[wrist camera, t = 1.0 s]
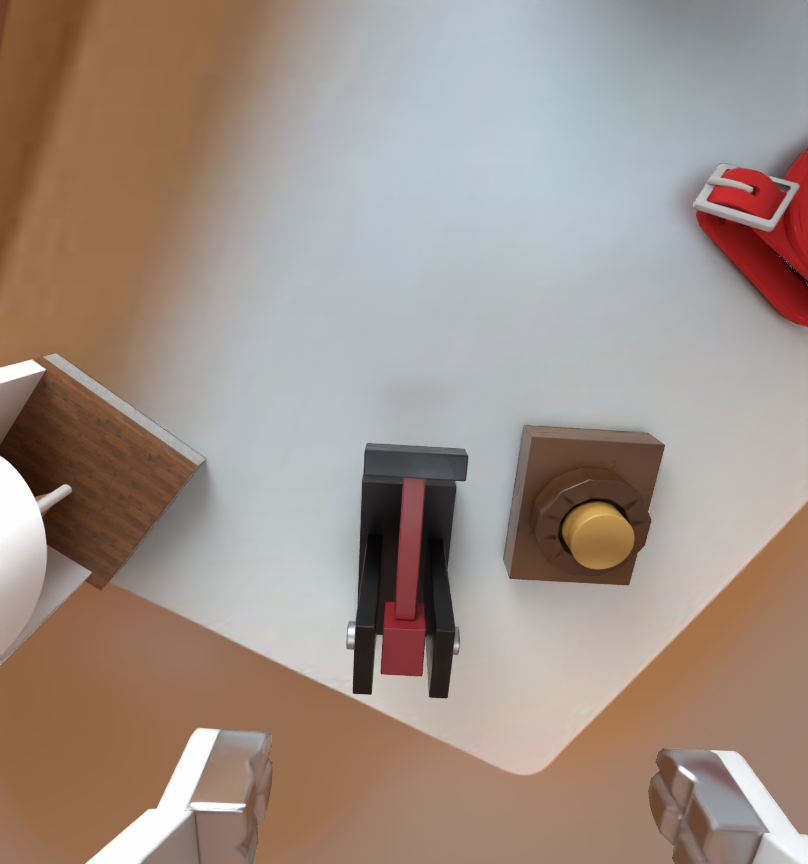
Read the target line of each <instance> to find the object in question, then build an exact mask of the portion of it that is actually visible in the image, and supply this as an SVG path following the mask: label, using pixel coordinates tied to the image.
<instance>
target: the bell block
mask: <svg viewBox="0 0 808 864" xmlns="http://www.w3.org/2000/svg"><path fill="white" fill-rule="evenodd" d="M664 447H665V445H664V444H663V443H662V442H660V441H659V440H657V439H656V438H654V437H653V436H652V435H650V434H649V433H641V432H624V431H608V430H591V429H575V428H558V427H542V426H524V427H523V433H522V440H521V447H520V453H519V460H518V466H517V473H516V480H515V486H514V493H513V500H512V506H511V513H510V519H509V526H508V533H507V539H506V546H505V552H504V559H503V560H504V563H505V566H506V569H507V572H508V575H509V578H510V579H522V580H540V581H558V582H576V583H595V584H613V585H629V584H630V580H631V576H632V572H633V568H634V565H635V561H636V557H637V553H638V552H639V551H640V550H641V549H642V548H643V547H644V546H645V543H646V539H647V535H648V531H649V528H650V524H651V518H650V515H649V513H648V510H649V506H650V502H651V498H652V494H653V490H654V486H655V482H656V478H657V475H658V471H659V467H660V463H661V459H662V455H663V451H664ZM588 501H603V502H607V503H609V504H611V505H613V506H614V507H615V508H616V509H617V510H618V511H619V512H620V513H621V514H622V516H623V517H624V518H625V519H626V520H627V521H628V523H629V524H630V525H631V527H632V529H633V531H634V545H633V548H632V550H631V552H630V554H629V555H628V556H627V557H626V558H625V559H624V560H623V561H622V562H621V563H619V564H617V565H615V566H613V567H610V568H607V569H591V568H588V567H585V566H583V565H581V564H580V563H579V562H577V561H576V559H575V558H574V557H573V555H572V553H571V551H570V550H569V548H568V546H567V544H566V543H565V541H564V539H563V536H562V525H563V522H564V519H565V517H566V516H567V514H568V513H569V512H570V511H571V510H572V509H573V508H575V507H576V506H578V505H580V504H582V503H584V502H588Z"/></svg>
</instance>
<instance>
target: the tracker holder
mask: <svg viewBox="0 0 808 864" xmlns="http://www.w3.org/2000/svg"><path fill="white" fill-rule="evenodd" d="M693 208H694V209H697V213H696V216H697V220H698V222H699V225H700V227H701V228H702V229H703V230H704V232H705V233H706V234H707V235H708V236H709V237H710V238H711V239H712V241H713V242H714V243H715V244H716V245H717V246H718V247H719V248H720V249H721V250H722V251H723V252H724V253H725V254H726V255H727V256H728V257H729V258H730V259H731V261H732V262H733V263H734V264H735V265H736V266H737V267H738V268H739V269H740V270H741V271H742V273H743V274H744V275H745V276H746V277H747V278H748V279H749V280H750V281H751V282H752V283H753V285H754V286H755V287H756V288H757V289H758V290H759V291H760V292H761V293H762V294H763V295H764V297H765V298H766V299H767V300H768V301H769V302H770V303H771V304H772V305H773V306H774V308H775V309H776V310H777V311H778V312H779V313H780V314H782V315H783V316H784V317H786V318H787V319H788V320H790V321H793V322H795V323H797V324H800V325H803V326H807V327H808V288H807V287H806V286H805V285H804V284H803V283H802V282H801V280H800V279H799V278H798V277H797V276H796V275H795V274H794V273H793V272H792V271H791V270H790V269H789V268H788V267H787V266H786V264H785V263H784V262H783V261H782V260H781V259H780V258H779V257H778V256H777V255H776V254H775V253H774V252H773V251H772V250H771V248H772V249H773V250H774V251H775V252H777V253H778V254H779V255H780V256H781V257H782V258H783V259H784V260H785V261H786V262H788V263H789V264H790V265H791V266H792V267H793V268H794V269H795V270H796V271H797V272H798V273H800V274H801V275H802V276H803V277H804V278H805V279H806V280H807V281H808V149H807V150H805V151H804V152H803V153H801V154H800V156H799V157H798V158H797V159H796V160H795V161H794V163H793V164H792V165H791V167H790V168H789V170H788V172H787V174H786V176H785V178H784V180H783V179H780V178H776V177H772V176H769V175H765V174H763V173H761V172H758V171H755V170H750V169H744V168H739V167H736V166H732V165H728V164H725V163H721V164H719V165H718V166H717V168H716V169H715V171H714V172H713V174H712V175H711V177H710V178H709V179H708V182H707V183H706V185H705V186H704V188H703V189H702V191H701V192H700V194H699V195H698V197H697V198H696V200H695V202H694V203H693ZM750 226H751V227H750ZM764 241H765V242H766V243H767V244H768V245H769V246H770V247H771V248H770V247H769V246H768V245H767V244H766V243H765V242H764Z"/></svg>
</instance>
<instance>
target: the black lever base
mask: <svg viewBox="0 0 808 864" xmlns="http://www.w3.org/2000/svg"><path fill="white" fill-rule="evenodd" d="M402 488H403V478H401V477H383V476H366V475H363V480H362V501H361V528H360V555H359V581H358V608H357V616H356V622H355V621H349V623H348V630H347V643H346V647H347V649H354V669H353V694H369V695H371V694H372V684H373V671H374V658H375V646H376V634H377V635H383V625H384V609H385V602H395V595H396V580H397V564H398V549H399V534H400V518H401V503H402ZM455 494H456V484H455V481H452V480H435V479H426V484H425V497H424V510H423V523H422V536H421V549H420V562H419V575H418V588H417V601H416V603H419V604H424V611H425V624H426V636H425V637H426V652H427V670H428V689H429V697H430V698H448V692H449V683H450V675H451V667H452V658H453V655H458V653H459V646H460V635H459V629H458V627H455V622H454V615H453V608H452V600H451V593H450V586H449V578H448V571H447V568H448V559H449V549H450V540H451V531H452V522H453V512H454V503H455Z"/></svg>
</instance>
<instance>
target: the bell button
mask: <svg viewBox="0 0 808 864" xmlns="http://www.w3.org/2000/svg"><path fill="white" fill-rule="evenodd" d="M562 536H563V539H564V541H565V543H566V544H567V546H568V548H569V550H570V551H571V553H572V555H573V557H574V558H575V559H576V561H577V562H579V563H580V564H581V565H583V566H585V567H588V568H591V569H607V568H610V567H613V566H615V565H617V564H619V563H621V562H622V561H623V560H624V559H625V558H626V557H627V556H628V555H629V554H630V552H631V550H632V548H633V545H634V531H633V529H632V527H631V525H630V524H629V523H628V521H627V520H626V519H625V518H624V517H623V516H622V514H621V513H620V512H619V511H618V510H617V509H616V508H615V507H614V506H613V505H611V504H609V503H607V502H603V501H588V502H584V503H582V504H580V505H578V506H576V507H575V508H573V509H572V510H571V511H570V512H569V513H568V514H567V516H566V517H565V519H564V522H563V525H562Z"/></svg>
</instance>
